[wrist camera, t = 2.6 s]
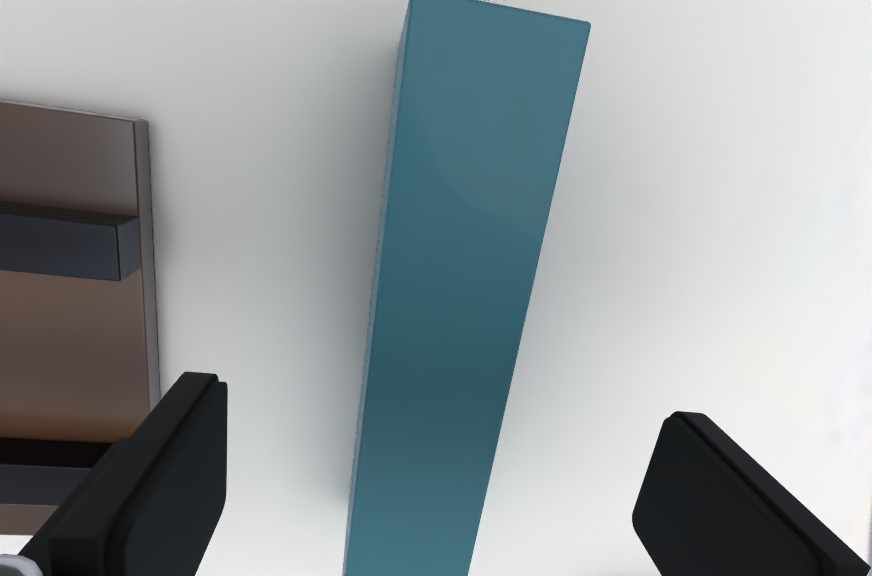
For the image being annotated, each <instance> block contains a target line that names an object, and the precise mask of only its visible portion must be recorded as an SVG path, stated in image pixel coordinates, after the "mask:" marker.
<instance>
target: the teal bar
mask: <svg viewBox="0 0 872 576" xmlns="http://www.w3.org/2000/svg"><path fill="white" fill-rule="evenodd" d="M590 27H591V24H590V23H589V22H586V21H581V20H576V19H570V18H565V17H560V16H555V15H550V14H545V13H540V12H535V11H529V10H524V9H519V8H514V7H509V6H504V5H499V4H494V3H488V2H483V1H478V0H409V3H408V7H407V12H406V16H405V21H404V25H403V29H402V34H401V38H400V43H399V51H398V60H397V69H396V78H395V87H394V96H393V105H392V114H391V123H390V133H389V142H388V151H387V160H386V169H385V178H384V187H383V196H382V205H381V214H380V224H379V233H378V242H377V251H376V260H375V269H374V278H373V287H372V296H371V306H370V315H369V324H368V333H367V342H366V351H365V360H364V369H363V378H362V387H361V397H360V406H359V415H358V424H357V433H356V442H355V451H354V460H353V469H352V479H351V488H350V497H349V506H348V517H347V528H346V540H345V551H344V562H343V573H342V576H468V572H469V567H470V563H471V558H472V554H473V549H474V545H475V541H476V536H477V532H478V527H479V523H480V518H481V514H482V509H483V505H484V500H485V496H486V491H487V487H488V483H489V478H490V474H491V469H492V465H493V460H494V456H495V451H496V447H497V442H498V438H499V433H500V429H501V425H502V420H503V416H504V411H505V407H506V402H507V398H508V393H509V389H510V384H511V380H512V375H513V371H514V367H515V362H516V358H517V353H518V349H519V344H520V340H521V335H522V331H523V326H524V322H525V317H526V313H527V309H528V304H529V300H530V295H531V291H532V286H533V282H534V277H535V273H536V268H537V264H538V259H539V255H540V251H541V246H542V242H543V237H544V233H545V228H546V224H547V219H548V215H549V210H550V206H551V201H552V197H553V193H554V188H555V184H556V179H557V175H558V170H559V166H560V161H561V157H562V152H563V148H564V143H565V139H566V135H567V130H568V126H569V121H570V117H571V112H572V108H573V103H574V99H575V94H576V90H577V85H578V81H579V77H580V72H581V68H582V63H583V59H584V54H585V50H586V45H587V41H588V36H589V32H590Z"/></svg>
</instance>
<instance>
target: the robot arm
mask: <svg viewBox="0 0 872 576" xmlns="http://www.w3.org/2000/svg"><path fill="white" fill-rule="evenodd" d="M227 396H228V389H227V383H226V382H219V381H218V376H217V375H216V374H210V373H197V372H184V373H183V374H182V375H181V376H180V377H179V379H178V380H177V381H176V382H175V383H174V385H173V386H172V387H171V388H170V390H169V391H168V392H167V393H166V394H165V396H164V397H163V398H162V399H161V400H160V402H159V403H158V404H157V405H156V406H155V408H154V409H153V410H152V411H151V412H150V414H149V415H148V416H147V417H146V419H145V420H144V421H143V422H142V423H141V425H140V426H139V427H138V428H137V429H136V431H135V432H134V433H133V434H132V435H131V437H130V438H129V437H123V438H120V439H118V440H117V441H116V442H115V443H114V444H113V445H112V446H111V447H110V448H109V449H108V450H107V451H106V453H105V454H104V455H103V456H102V457H101V458H100V460H99V461H98V462H97V463H96V464H95V465H94V467H93V468H92V469H91V470H90V471H89V472H88V473H87V475H86V476H85V477H84V478H83V479H82V480H81V482H80V483H79V484H78V485H77V486H76V487H75V489H74V490H73V491H72V492H71V493H70V494H69V495H68V497H67V498H66V499H65V500H64V501H63V502H62V504H61V505H60V506H59V507H58V508H57V509H56V511H55V512H54V513H53V514H52V515H51V516H50V517H49V519H48V520H47V521H46V522H45V523H44V524H43V526H42V527H41V528H40V529H39V530H38V531H37V533H36V534H35V535H34V536H33V537H32V538H31V539H30V541H29V542H28V543H27V544H26V545H25V546H24V548H23V549H22V550H21V551H20V552H19V553H18V555H9V554H1V555H0V576H195V574H196V572H197V570H198V567H199V565H200V563H201V560H202V558H203V556H204V553H205V551H206V549H207V546H208V544H209V542H210V539H211V537H212V535H213V532H214V530H215V528H216V525H217V523H218V521H219V519H220V516H221V514H222V511H223V508H224V504H225V499H226V478H227ZM632 523H633V527H634V530H635V532H636V534H637V535H638V537H639V539H640V540H641V542H642V544H643V545H644V547H645V549H646V550H647V552H648V554H649V555H650V557H651V559H652V560H653V562H654V564H655V565H656V567H657V569H658V570H659V572H660V574H661V575H662V576H867V574H868V572H869V570H870V568H871V567H870V566H869V565H868V564H867V563H866V562H865V561H863V560H862V559H861V558H860V557H859V556H858V555H857V554H856V553H855V552H854V551H853V550H852V549H850V548H849V547H848V546H847V545H846V544H845V543H844V542H843V541H842V540H841V539H840V538H839V537H837V536H836V535H835V534H834V533H833V532H832V531H831V530H830V529H829V528H828V527H827V526H826V525H824V524H823V523H822V522H821V521H820V520H819V519H818V518H817V517H816V516H815V515H814V514H813V513H811V512H810V511H809V510H808V509H807V508H806V507H805V506H804V505H803V504H802V503H801V502H799V501H798V500H797V499H796V498H795V497H794V496H793V495H792V494H791V493H790V492H789V491H788V490H786V489H785V488H784V487H783V486H782V485H781V484H780V483H779V482H778V481H777V480H776V479H775V478H773V477H772V476H771V475H770V474H769V473H768V472H767V471H766V470H765V469H764V468H763V467H762V466H760V465H759V464H758V463H757V462H756V461H755V460H754V459H753V458H752V457H751V456H750V455H749V454H747V453H746V452H745V451H744V450H743V449H742V448H741V447H740V446H739V445H738V444H737V443H736V442H734V441H733V440H732V439H731V438H730V437H729V436H728V435H727V434H726V433H725V432H724V431H723V430H721V429H720V428H719V427H718V426H717V425H716V424H715V423H714V422H713V421H712V420H711V419H710V418H708V417H707V416H706V415H704V414H702V413H693V412H681V411H676V412H674V413H673V414H672V415H671V416H670V417H668V418H666V419H665V420H664V422H663V424H662V427H661V430H660V433H659V436H658V439H657V442H656V445H655V448H654V451H653V454H652V457H651V460H650V463H649V466H648V469H647V472H646V475H645V478H644V481H643V484H642V486H641V489H640V492H639V495H638V498H637V501H636V504H635V507H634V510H633V514H632Z"/></svg>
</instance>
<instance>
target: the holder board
mask: <svg viewBox="0 0 872 576" xmlns="http://www.w3.org/2000/svg"><path fill="white" fill-rule="evenodd" d="M159 402H160V387H159V366H158V344H157V322H156V300H155V278H154V257H153V235H152V213H151V191H150V169H149V148H148V126H147V121H146V120H142V119H135V118H128V117H121V116H114V115H107V114H100V113H93V112H86V111H79V110H72V109H65V108H58V107H51V106H44V105H37V104H30V103H23V102H16V101H9V100H2V99H0V535H32V536H34V535H35V534H36V533H37V531H38V530H39V529H40V528H41V527H42V526H43V524H44V523H45V522H46V521H47V520H48V519H49V517H50V516H51V515H52V514H53V513H54V512H55V511H56V509H57V508H58V507H59V506H60V505H61V504H62V502H63V501H64V500H65V499H66V498H67V497H68V495H69V494H70V493H71V492H72V491H73V490H74V489H75V487H76V486H77V485H78V484H79V483H80V482H81V480H82V479H83V478H84V477H85V476H86V475H87V473H88V472H89V471H90V470H91V469H92V468H93V467H94V465H95V464H96V463H97V462H98V461H99V460H100V458H101V457H102V456H103V455H104V454H105V453H106V451H107V450H108V449H109V448H110V447H111V446H112V445H113V444H114V443H115V442H116V441H117V440H118V439H120V438H123V437H129V438H130V437H131V435H132V434H133V433H134V432H135V431H136V429H137V428H138V427H139V426H140V425H141V423H142V422H143V421H144V420H145V419H146V417H147V416H148V415H149V414H150V412H151V411H152V410H153V409H154V408H155V406H156V405H157V404H158V403H159Z"/></svg>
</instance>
